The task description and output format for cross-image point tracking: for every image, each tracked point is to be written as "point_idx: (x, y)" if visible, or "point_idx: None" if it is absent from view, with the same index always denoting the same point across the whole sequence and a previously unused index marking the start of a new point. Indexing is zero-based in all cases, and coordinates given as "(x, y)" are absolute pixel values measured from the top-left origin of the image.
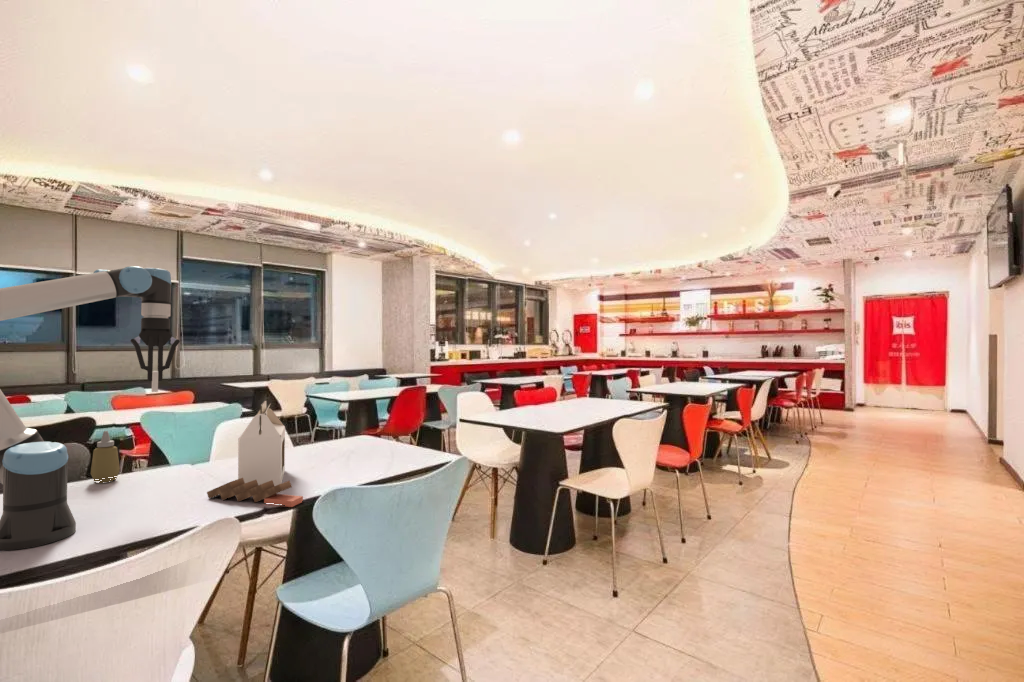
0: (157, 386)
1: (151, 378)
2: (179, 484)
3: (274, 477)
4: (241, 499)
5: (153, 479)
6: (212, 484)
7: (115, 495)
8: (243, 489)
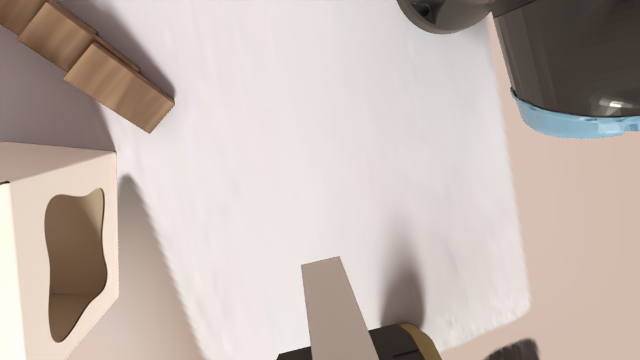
0: (308, 289)
1: (379, 351)
2: (259, 258)
3: (3, 145)
4: (83, 22)
5: None
6: (186, 228)
7: (367, 221)
8: (60, 9)
